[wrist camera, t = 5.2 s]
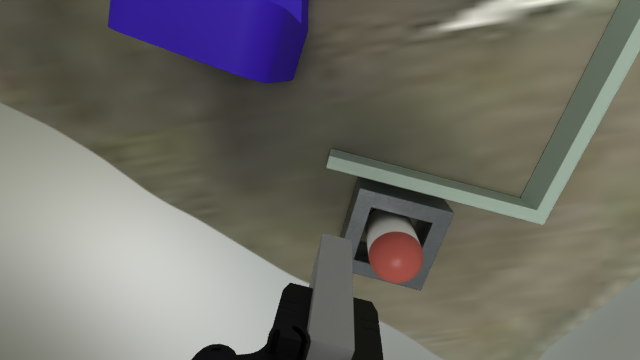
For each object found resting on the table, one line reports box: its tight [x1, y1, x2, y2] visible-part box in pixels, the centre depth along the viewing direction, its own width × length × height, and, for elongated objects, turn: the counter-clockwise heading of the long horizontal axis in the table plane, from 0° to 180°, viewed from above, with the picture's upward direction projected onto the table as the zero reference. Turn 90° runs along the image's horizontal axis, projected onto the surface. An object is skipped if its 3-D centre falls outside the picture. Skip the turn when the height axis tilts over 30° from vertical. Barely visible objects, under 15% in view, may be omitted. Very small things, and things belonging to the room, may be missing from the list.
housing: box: [340, 176, 454, 291], centre depth 32 cm, size 9×9×4 cm
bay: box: [326, 0, 640, 224], centre depth 26 cm, size 32×21×3 cm, turn 166°
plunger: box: [365, 209, 423, 283], centre depth 30 cm, size 5×5×8 cm
